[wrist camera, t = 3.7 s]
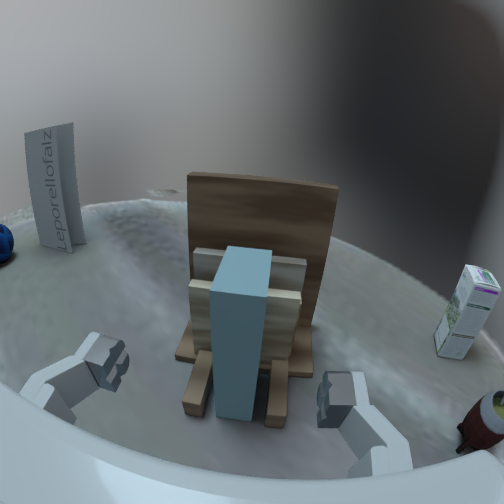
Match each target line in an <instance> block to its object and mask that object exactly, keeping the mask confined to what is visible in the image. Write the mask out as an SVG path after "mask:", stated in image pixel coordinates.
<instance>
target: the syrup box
mask: <svg viewBox="0 0 504 504" xmlns="http://www.w3.org/2000/svg"><path fill="white" fill-rule="evenodd" d="M500 292H501V288H500V286H499V284H498V283H497V281H496V280H495V278H494V276H493V275H492V273H491V272H490V271H488V270H486V269H484V268H481V267H477V266H472V265H467V264H466V265H465V267H464V270H463V272H462V275H461V277H460V280H459V282H458V284H457V287H456V289H455V292H454V294H453V296H452V299H451V301H450V303H449V305H448V307H447V309H446V311H445V313H444V315H443V317H442V319H441V321H440V323H439V325H438V327H437V329H436V331H435V333H434V339H435V344H436V351H437V355H438V356H441V357H445V358H451V359H457V360H462V359H463V358H464V356H465V355H466V353H467V352H468V350H469V348H470V347H471V345H472V344H473V342H474V340H475V339H476V337H477V335H478V334H479V332H480V330H481V328H482V327H483V325H484V323H485V321H486V319H487V318H488V316H489V314H490V312H491V310H492V308H493V306H494V304H495V302H496V300H497V298H498V296H499V294H500Z"/></svg>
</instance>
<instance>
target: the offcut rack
mask: <svg viewBox="0 0 504 504" xmlns="http://www.w3.org/2000/svg"><path fill="white" fill-rule="evenodd" d="M338 192H339V189H338V187H337V186H336V185H331V184H324V183H317V182H308V181H301V180H292V179H282V178H272V177H261V176H251V175H238V174H223V173H206V172H191V173H190V174H188V175H187V209H188V242H189V263H190V281H191V280H192V279H194V264H193V252H194V250H195V249H196V247H198V248H207V249H216V250H226V249H227V247H228V246H235V247H244V248H254V249H263V250H272V256H281V257H290V258H300V259H306V263H307V267H306V272H305V278H304V283H303V288H302V293H301V297H302V306H301V310H300V315H299V320H298V324H297V329H296V333H295V338H294V342H293V347H292V351H291V355H290V356H288V361H282V360H272V363H271V365H268V364H259V368H258V373H264V374H269V385H268V395H267V405H266V415H265V424H264V427H275V428H282V427H283V424H284V421H285V418H286V412H287V389H288V376H297V377H312V374H313V362H312V345H311V330H310V326H311V322H312V318H313V314H314V310H315V306H316V302H317V298H318V293H319V289H320V285H321V280H322V276H323V271H324V267H325V262H326V257H327V252H328V247H329V242H330V237H331V232H332V226H333V221H334V215H335V209H336V204H337V198H338ZM175 358H176V360H180V361H185V362H190V363H195V364H194V367H193V370H192V373H191V376H190V379H189V382H188V385H187V388H186V391H185V394H184V397H183V400H182V403H183V407H184V411H185V414H187V415H192V416H197V417H203V413H204V409H205V405H206V402H207V398H208V394H209V390H210V387H211V383H212V379H213V364H212V352H211V351H205V350H199V352H198V355H197V354H194V345H193V335H192V325H191V318H190V320H189V323H188V325H187V327H186V330H185V332H184V334H183V337H182V339H181V341H180V344H179V346H178V349H177V351H176V353H175Z"/></svg>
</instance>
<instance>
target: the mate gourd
mask: <svg viewBox="0 0 504 504" xmlns="http://www.w3.org/2000/svg"><path fill="white" fill-rule="evenodd" d="M457 429H458V430H459V431H460V433H461V434H462V435H463V437H464V438H465V441H464V442H463V443H462V444H461V445H460V446H459V447H458V448H457V449H456V452H457V453H458V454H459V453H460V452H461V451H462V450H463V449H464V448H465V447H466V446H467V445H469V446H471V447H472V448H473V449H474V451H478V450H485V449H488V448H490V447H492V446H494V445H495V444H497V443H499V442H500V441H502V440H503V439H504V390H495V391H492V392H489V393H487V394H486V395H485V396H483V397H482V398H481V399H480V400H479V401H478V402H477V403H476V404H475V405H474V406H473V407H472V409H471V410H470V411H469V412H468V413H467V415H466V417H465V419H464V420H463V422H462V424H461V423H460V424H459V425H458V426H457Z"/></svg>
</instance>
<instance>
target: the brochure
mask: <svg viewBox="0 0 504 504" xmlns="http://www.w3.org/2000/svg"><path fill="white" fill-rule="evenodd" d="M25 151H26V162H27V172H28V180H29V187H30V194H31V200H32V206H33V211H34V217H35V221H36V226H37V231H38V235H39V239H40V243H41V245H44V246H47V247H51V248H54V249H58V250H62V251H65V252H69V253H73V251H72V246H71V244H86V239H85V234H84V228H83V223H82V217H81V210H80V203H79V196H78V187H77V178H76V168H75V155H74V134H73V123H68V124H63V125H58V126H52V127H48V128H44V129H39V130H35V131H32V132H28V133H25Z"/></svg>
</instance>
